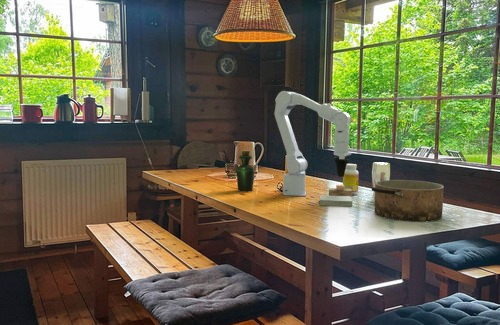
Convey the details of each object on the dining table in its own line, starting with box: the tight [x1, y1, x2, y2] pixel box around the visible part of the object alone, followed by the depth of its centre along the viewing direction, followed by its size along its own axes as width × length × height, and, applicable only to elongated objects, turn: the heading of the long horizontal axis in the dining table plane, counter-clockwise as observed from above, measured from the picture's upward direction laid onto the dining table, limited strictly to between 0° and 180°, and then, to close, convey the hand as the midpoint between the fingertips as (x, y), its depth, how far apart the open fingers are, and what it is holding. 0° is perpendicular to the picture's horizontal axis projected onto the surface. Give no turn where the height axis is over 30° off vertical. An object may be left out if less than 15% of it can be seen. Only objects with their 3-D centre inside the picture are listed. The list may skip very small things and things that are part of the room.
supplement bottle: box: [342, 163, 360, 196], centre depth 206 cm, size 7×7×13 cm
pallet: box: [328, 187, 353, 197], centre depth 195 cm, size 9×5×4 cm, turn 82°
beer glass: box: [371, 161, 391, 202], centre depth 192 cm, size 7×7×15 cm
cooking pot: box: [371, 179, 445, 223], centre depth 165 cm, size 30×22×11 cm
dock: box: [319, 194, 353, 207], centre depth 184 cm, size 12×10×2 cm
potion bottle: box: [235, 149, 255, 192], centre depth 211 cm, size 8×8×18 cm
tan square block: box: [335, 184, 344, 190], centre depth 194 cm, size 3×3×2 cm
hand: (340, 175), depth 194 cm, fingers open, 7 cm apart
